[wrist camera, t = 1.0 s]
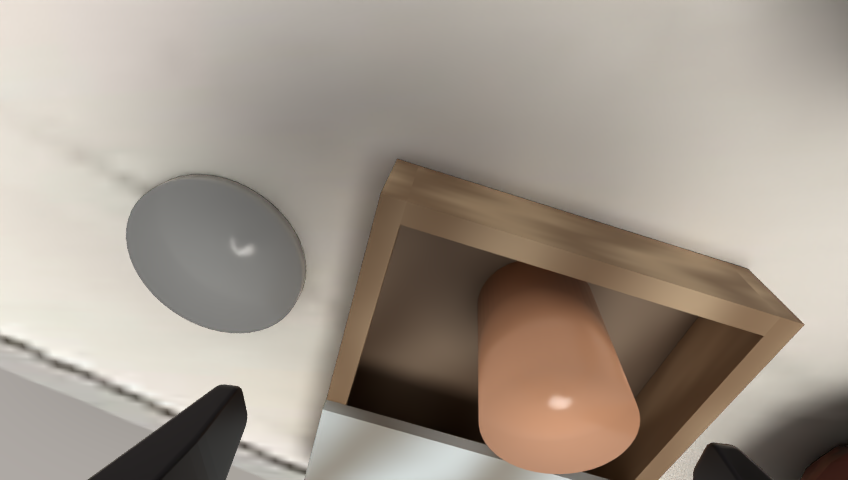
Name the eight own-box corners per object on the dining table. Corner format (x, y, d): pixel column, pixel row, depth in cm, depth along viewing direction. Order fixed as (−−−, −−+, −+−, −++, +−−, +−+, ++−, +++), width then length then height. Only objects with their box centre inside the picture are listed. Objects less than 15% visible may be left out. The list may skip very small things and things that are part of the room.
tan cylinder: (614, 278, 21) (672, 395, 15) (562, 361, 23) (593, 489, 17) (501, 243, 20) (512, 347, 14) (462, 331, 23) (458, 450, 17)
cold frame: (748, 269, 21) (815, 334, 16) (547, 521, 31) (558, 598, 27) (397, 158, 20) (377, 199, 16) (315, 458, 31) (291, 527, 27)
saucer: (319, 207, 21) (313, 214, 20) (293, 341, 26) (288, 351, 25) (133, 150, 21) (121, 155, 20) (139, 297, 25) (130, 306, 24)
